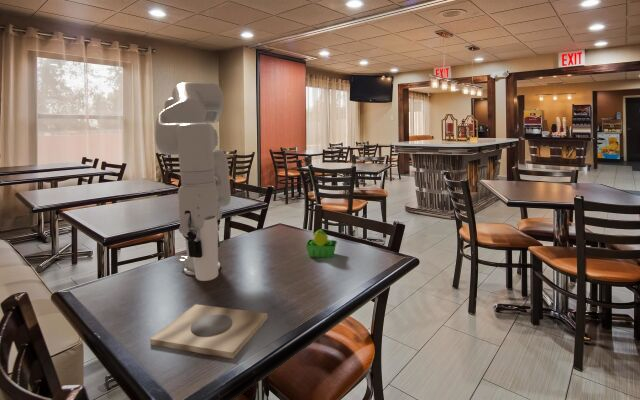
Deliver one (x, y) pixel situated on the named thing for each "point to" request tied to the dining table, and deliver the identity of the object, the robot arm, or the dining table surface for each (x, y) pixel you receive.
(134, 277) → the dining table surface
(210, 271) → the drinking glass
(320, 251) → the fruit basket
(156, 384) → the dining table surface
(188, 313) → the serving board
